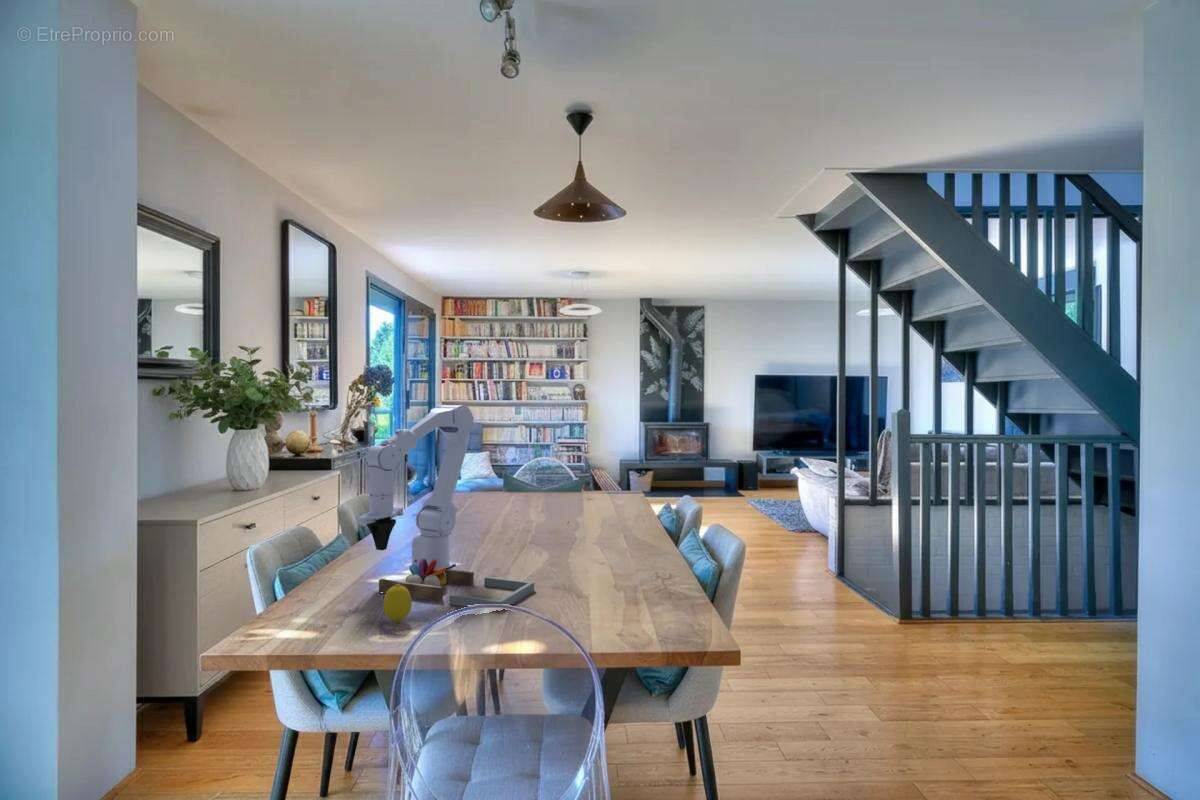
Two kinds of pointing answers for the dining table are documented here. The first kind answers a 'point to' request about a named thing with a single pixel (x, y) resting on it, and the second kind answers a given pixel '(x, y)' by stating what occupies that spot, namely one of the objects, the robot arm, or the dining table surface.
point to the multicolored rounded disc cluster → (427, 574)
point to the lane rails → (429, 590)
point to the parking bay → (520, 587)
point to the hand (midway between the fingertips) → (381, 549)
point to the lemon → (397, 603)
